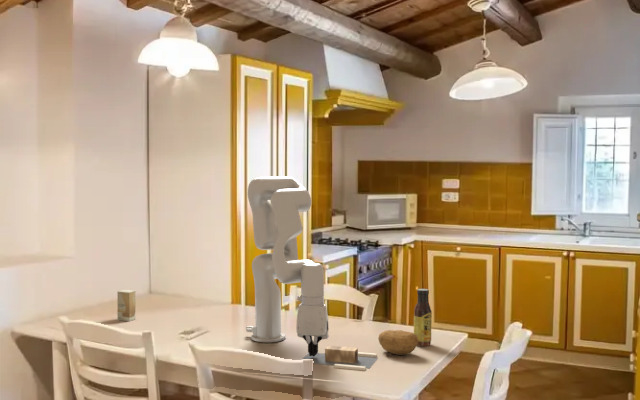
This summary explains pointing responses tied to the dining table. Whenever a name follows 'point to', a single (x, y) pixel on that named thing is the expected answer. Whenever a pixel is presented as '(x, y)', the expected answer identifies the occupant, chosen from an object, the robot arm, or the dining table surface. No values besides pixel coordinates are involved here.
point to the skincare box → (126, 305)
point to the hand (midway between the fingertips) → (313, 354)
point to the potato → (398, 341)
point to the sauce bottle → (423, 318)
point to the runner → (358, 365)
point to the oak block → (341, 354)
